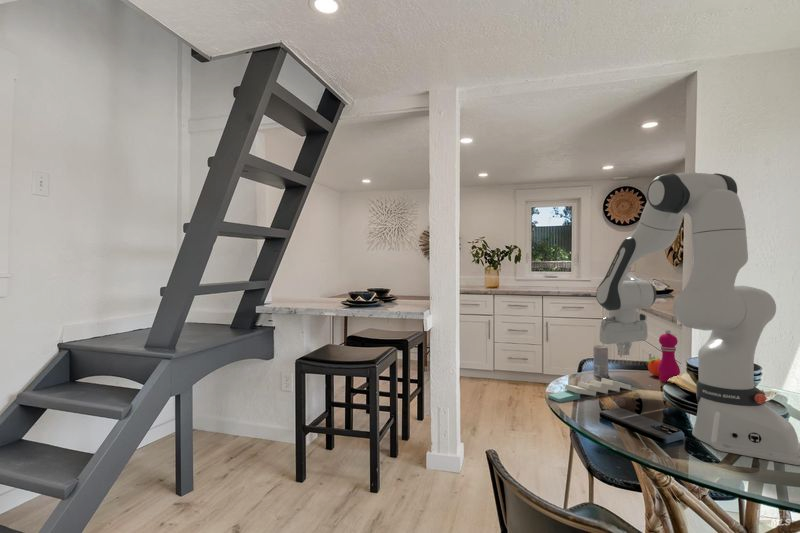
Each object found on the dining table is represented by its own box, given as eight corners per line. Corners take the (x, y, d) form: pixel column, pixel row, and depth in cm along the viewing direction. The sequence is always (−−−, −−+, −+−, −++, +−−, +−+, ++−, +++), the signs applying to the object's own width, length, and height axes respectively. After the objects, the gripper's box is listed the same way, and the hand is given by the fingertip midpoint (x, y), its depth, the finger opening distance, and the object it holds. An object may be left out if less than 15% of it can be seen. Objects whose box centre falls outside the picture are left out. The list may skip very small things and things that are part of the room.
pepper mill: (680, 385, 154) (679, 331, 154) (657, 383, 158) (656, 330, 158) (679, 381, 160) (678, 329, 160) (657, 378, 164) (656, 328, 164)
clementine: (651, 378, 164) (651, 360, 164) (641, 374, 171) (641, 356, 171) (672, 378, 164) (671, 360, 164) (661, 374, 171) (661, 356, 171)
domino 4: (607, 383, 150) (590, 379, 147) (620, 387, 145) (601, 382, 142) (607, 388, 150) (589, 383, 147) (619, 391, 145) (600, 387, 142)
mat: (624, 386, 154) (624, 384, 154) (639, 390, 148) (639, 389, 148) (564, 396, 143) (564, 394, 143) (577, 401, 137) (577, 399, 137)
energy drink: (605, 374, 171) (604, 345, 171) (610, 377, 166) (610, 347, 166) (591, 374, 172) (591, 345, 172) (596, 377, 166) (596, 347, 167)
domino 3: (596, 385, 148) (578, 381, 145) (608, 389, 143) (589, 384, 140) (595, 390, 148) (577, 385, 144) (607, 393, 143) (588, 389, 140)
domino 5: (618, 382, 152) (601, 377, 149) (631, 385, 148) (613, 380, 144) (618, 386, 152) (600, 382, 149) (630, 389, 147) (612, 385, 144)
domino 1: (568, 389, 143) (548, 394, 140) (579, 393, 138) (559, 398, 135) (568, 394, 143) (548, 399, 140) (580, 398, 138) (559, 403, 135)
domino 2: (584, 387, 146) (565, 384, 142) (596, 391, 141) (576, 388, 138) (584, 392, 146) (564, 389, 142) (595, 396, 141) (576, 393, 138)
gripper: (609, 318, 142) (610, 358, 142) (650, 315, 150) (652, 353, 150) (594, 317, 148) (595, 356, 148) (634, 314, 156) (636, 351, 156)
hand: (624, 354), depth 149 cm, fingers closed
